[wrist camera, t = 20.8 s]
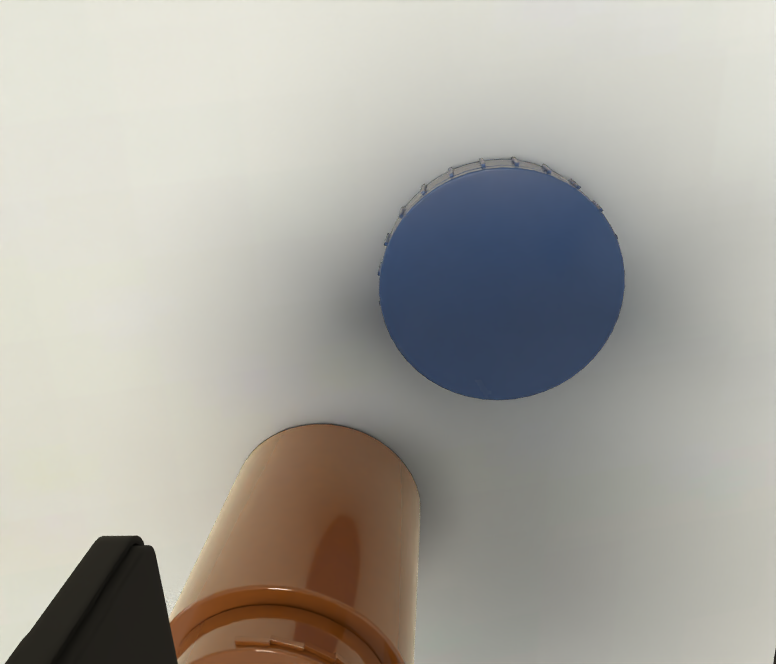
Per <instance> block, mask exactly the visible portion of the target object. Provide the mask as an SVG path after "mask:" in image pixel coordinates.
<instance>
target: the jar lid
mask: <svg viewBox="0 0 776 664" xmlns="http://www.w3.org/2000/svg"><path fill="white" fill-rule="evenodd" d="M448 170H449V172H447V173H445V174H443V175H441V176H440V177H438V178H436V179H435V180H433V181H432V182H431V183H429V184H428V185H425V184H423V185H422V187H421V191H420V192H419V193H418V194H416V195H415V196H414V197H413V198H412V200H411V201H410V202H409V203H408V205H407V206H406V207H405V208H404V207H402V208H401V210H400V213H399V218H398V219H397V221H396V223H395V225H394V227H393V229H392V232H391V234H389V233H388V234H387V237H386V240H385V243H384V245H385V246H387V247H386V250H385V253H384V257H383V261H382V262H381V264H380V267H379V270H378V275H379V276H380V278H379V296H380V301H379V304H380V305H381V310H382V314H383V318H384V322H385V324H386V327H387V329H388V332H389V334H390V336H391V338H392V340H393V342H394V343H395V345H396V347H397V348H398V350H399V351H400V352H401V354H402V355H403V356H404V358H405V359H406V360H407V361H408V362H409V363H410V364H411V365H412V366H413V367H414V368H415V369H416V370H417V371H418V372H420V373H421V374H422V375H423V376H425V377H426V378H427V379H429V380H430V381H432V382H434V383H436V384H437V385H439V386H441V387H443V388H445V389H447V390H450V391H452V392H454V393H458V394H461V395H464V396H468V397H473V398H479V399H486V400H508V399H517V398H523V397H528V396H532V395H535V394H538V393H541V392H544V391H547V390H549V389H551V388H553V387H556V386H558V385H560V384H561V383H563V382H565V381H566V380H568V379H570V378H571V377H573V376H574V375H575V374H576V373H578V372H579V371H580V370H582V369H583V368H584V367H585V366H586V365H587V364H588V363H589V362H590V361H591V360H592V359H593V358H594V357H595V356H596V355H597V353H598V352H599V351H600V350H601V348H602V347H603V346H604V344H605V343H606V341H607V339H608V338H609V336H610V334H611V333H612V331H613V328H614V326H615V324H616V322H617V319H618V316H619V313H620V310H621V306H622V302H623V295H624V288H625V271H624V264H623V257H622V253H621V250H620V247H619V243H618V240H617V239H618V238H617V235H616V234H615V233H614V232H613V229H612V227H611V226H610V224H609V223H608V221H607V219H606V218H605V216H604V215H603V214H602V211H603V210H602V208H601V207H600V206H599V205H598V204H597V203H596V202H595V201H591V200H590V199H589V198H588V197H587V196H586V195H585V194H584V193H583V192H582V191H580V190H579V189H580V188H581V187H580V186H579V185H578V184H577V183H576V182H575V181H574V180H572V179H570V181H568V180H567V179H565V178H564V177H562V176H561V175H559V174H558V173H555V172H553V171H552V170H551V169H550V168H549V167H548V166H547V165H545V164H543V165H542V166H539V165H536V164H532V163H529V162H523V161H518V160H517V159H516V158H515V157H512V158H511V160H503V159H496V160H486V161H484V160H483V158H480V159H479V162H475V163H471V164H467V165H464V166H461V167H458V168H456V169H452V167H451V168H449V169H448Z"/></svg>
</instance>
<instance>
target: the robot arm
mask: <svg viewBox="0 0 776 664" xmlns="http://www.w3.org/2000/svg"><path fill="white" fill-rule="evenodd" d="M5 664H178V661H177V656H176V651H175V646H174V642H173V637H172V632H171V627H170V622H169V617H168V613H167V608H166V603H165V598H164V593H163V588H162V583H161V579H160V574H159V569H158V564H157V559H156V554H155V551H154V549H153V547H152V546H150V545H144V542H143V540H142V539H141V537H139V536H102V537H99V538H98V539H97V540H96V541H95V542H94V544H93V545H92V546H91V548H90V549H89V551H88V552H87V553H86V555H85V556H84V557H83V559H82V560H81V562H80V563H79V564H78V566H77V567H76V569H75V570H74V571H73V573H72V574H71V575H70V577H69V578H68V580H67V581H66V582H65V584H64V585H63V586H62V588H61V589H60V591H59V592H58V593H57V595H56V596H55V597H54V599H53V600H52V602H51V603H50V604H49V606H48V607H47V609H46V610H45V611H44V613H43V614H42V615H41V617H40V618H39V620H38V621H37V622H36V624H35V625H34V626H33V628H32V629H31V631H30V632H29V633H28V634H27V635H26V636H25V637H24V638H23V640H22V641H21V642H20V644H19V645H18V646H17V648H16V649H15V650H14V652H13V653H12V655H11V656H10V657H9V659H8V660H7V661H6V663H5ZM773 664H776V650H775V656H774V663H773Z"/></svg>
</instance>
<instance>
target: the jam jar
mask: <svg viewBox="0 0 776 664" xmlns="http://www.w3.org/2000/svg"><path fill="white" fill-rule="evenodd" d="M419 535H420V499H419V493H418V490H417V487H416V484H415V482H414V479H413V477H412V475H411V473H410V472H409V470H408V469H407V467H406V466H405V464H404V463H403V462H402V461H401V460H400V458H399V457H398V456H397V455H396V454H395V453H394V452H393V451H391V450H390V449H389V448H388V447H387V446H385V445H384V444H383V443H381V442H380V441H378V440H377V439H375V438H373V437H371V436H369V435H367V434H365V433H362V432H360V431H357V430H355V429H351V428H347V427H344V426H337V425H331V424H312V425H303V426H299V427H294V428H291V429H288V430H285V431H282V432H280V433H278V434H276V435H274V436H272V437H270V438H269V439H267V440H266V441H264V442H263V443H261V444H260V445H259V446H258V447H257V448H256V449H255V450H254V451H253V452H252V453H251V454H250V456H249V457H248V458H247V459H246V461H245V463H244V464H243V466H242V468H241V470H240V472H239V474H238V476H237V478H236V480H235V482H234V484H233V486H232V488H231V490H230V492H229V494H228V497H227V499H226V501H225V503H224V505H223V507H222V509H221V511H220V513H219V515H218V517H217V519H216V521H215V523H214V525H213V528H212V530H211V532H210V534H209V536H208V538H207V540H206V542H205V544H204V546H203V548H202V550H201V552H200V554H199V557H198V559H197V561H196V563H195V565H194V567H193V569H192V571H191V573H190V575H189V577H188V579H187V581H186V583H185V586H184V588H183V590H182V592H181V594H180V596H179V598H178V600H177V602H176V604H175V606H174V608H173V610H172V612H171V614H170V617H169V622H170V627H171V632H172V637H173V642H174V646H175V651H176V656H177V661H178V664H414V650H415V627H416V604H417V581H418V558H419Z"/></svg>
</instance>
